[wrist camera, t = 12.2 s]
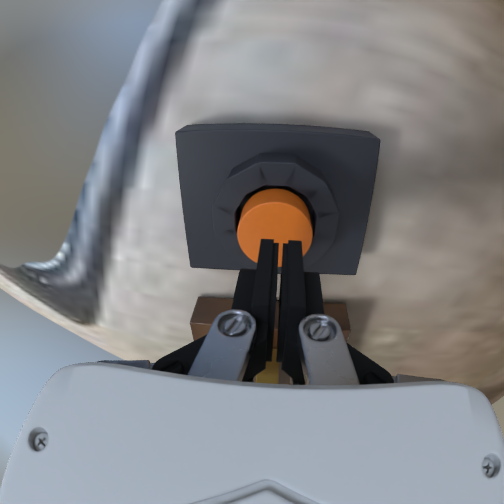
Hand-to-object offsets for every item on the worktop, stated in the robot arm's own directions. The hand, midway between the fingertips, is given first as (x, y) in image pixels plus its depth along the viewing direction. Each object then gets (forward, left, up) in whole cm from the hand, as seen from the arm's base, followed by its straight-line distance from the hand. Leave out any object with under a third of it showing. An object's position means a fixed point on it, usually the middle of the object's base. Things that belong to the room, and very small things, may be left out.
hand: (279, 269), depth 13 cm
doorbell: (0, 0, -8) cm, 7 cm away
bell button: (0, 0, -4) cm, 4 cm away
